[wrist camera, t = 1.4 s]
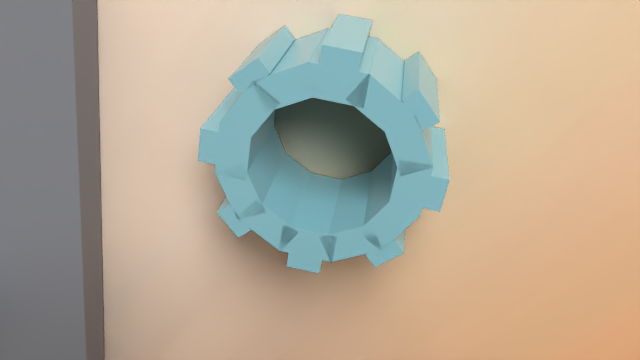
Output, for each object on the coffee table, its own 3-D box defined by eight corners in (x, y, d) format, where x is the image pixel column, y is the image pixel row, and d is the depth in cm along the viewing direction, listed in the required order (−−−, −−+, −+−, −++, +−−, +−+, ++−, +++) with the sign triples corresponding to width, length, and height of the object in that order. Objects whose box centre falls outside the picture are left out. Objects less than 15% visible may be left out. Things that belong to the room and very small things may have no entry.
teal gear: (416, 231, 21) (415, 294, 18) (225, 190, 21) (192, 245, 18) (469, 39, 18) (480, 75, 15) (243, -5, 18) (207, 21, 15)
